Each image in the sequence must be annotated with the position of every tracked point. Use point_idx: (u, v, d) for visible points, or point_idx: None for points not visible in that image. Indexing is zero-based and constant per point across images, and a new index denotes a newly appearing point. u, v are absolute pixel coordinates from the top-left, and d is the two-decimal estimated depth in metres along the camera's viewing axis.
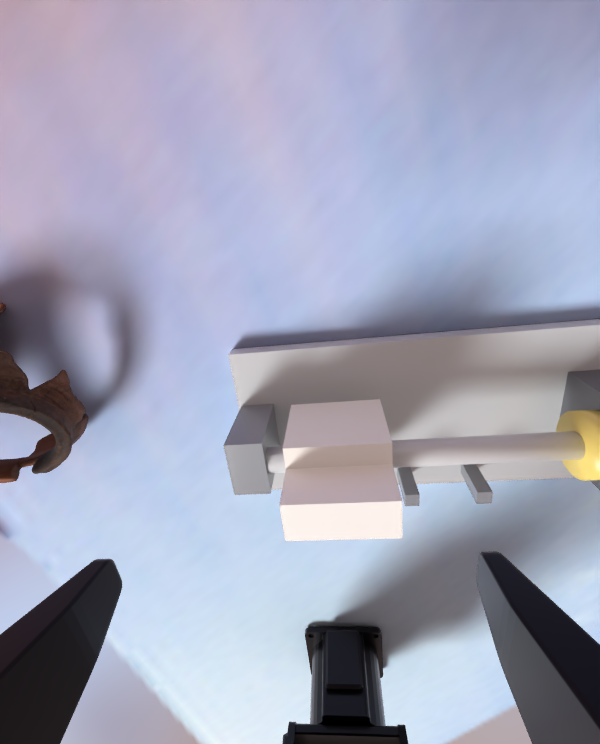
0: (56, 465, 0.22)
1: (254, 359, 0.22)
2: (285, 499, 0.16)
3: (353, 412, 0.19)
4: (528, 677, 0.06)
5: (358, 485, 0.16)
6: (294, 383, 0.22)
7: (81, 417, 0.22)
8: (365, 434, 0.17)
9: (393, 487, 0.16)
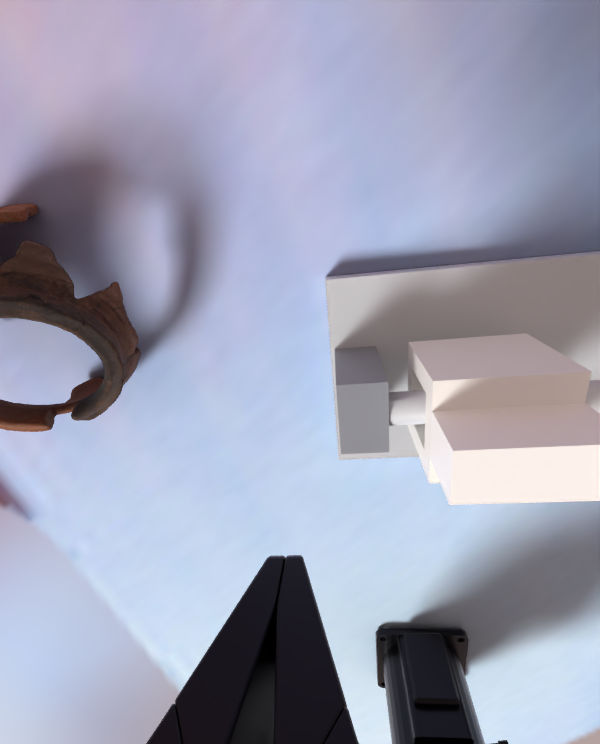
0: (102, 410, 0.17)
1: (358, 286, 0.17)
2: (457, 443, 0.11)
3: (502, 345, 0.15)
4: None
5: (555, 426, 0.11)
6: (406, 318, 0.17)
7: (134, 349, 0.17)
8: (542, 365, 0.13)
9: None
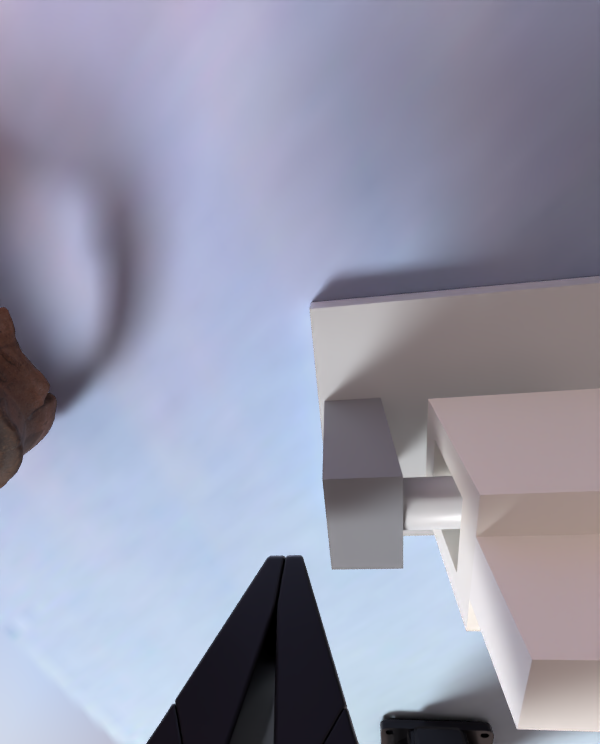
0: None
1: (356, 317, 0.12)
2: (535, 637, 0.06)
3: (573, 413, 0.10)
4: None
5: None
6: (423, 361, 0.12)
7: (43, 399, 0.12)
8: None
9: None
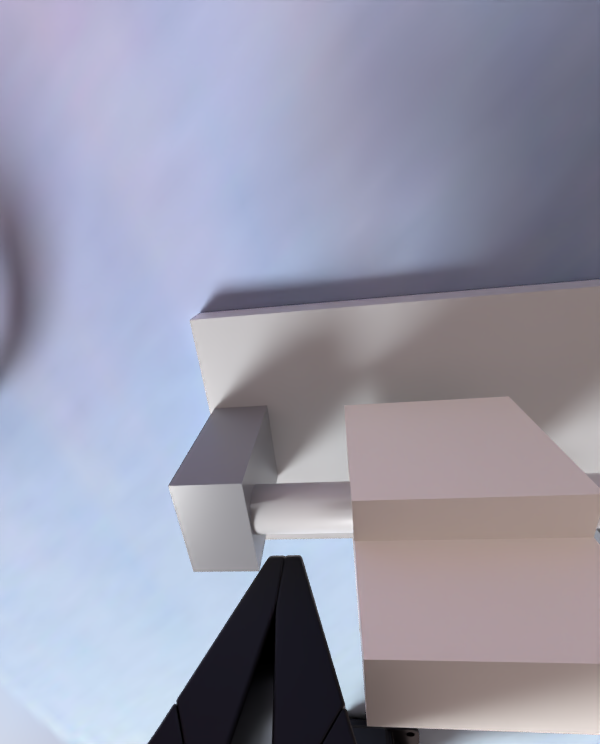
0: None
1: (234, 328, 0.12)
2: (374, 637, 0.06)
3: (472, 421, 0.10)
4: None
5: (545, 599, 0.07)
6: (303, 371, 0.13)
7: None
8: (526, 471, 0.08)
9: None
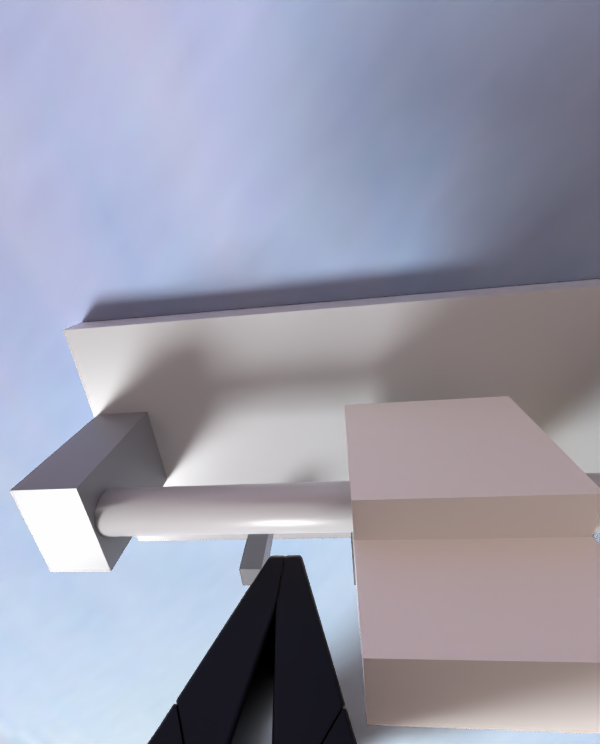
0: None
1: (106, 338, 0.13)
2: (373, 636, 0.06)
3: (472, 420, 0.10)
4: None
5: (544, 598, 0.07)
6: (176, 379, 0.13)
7: None
8: (526, 471, 0.08)
9: None
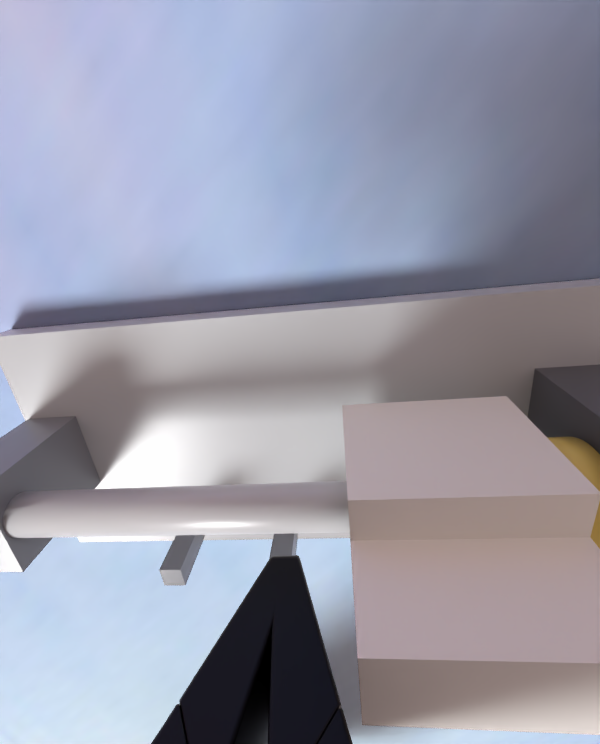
0: None
1: (29, 345, 0.13)
2: (368, 637, 0.06)
3: (469, 420, 0.10)
4: None
5: (540, 599, 0.07)
6: (100, 384, 0.14)
7: None
8: (523, 471, 0.08)
9: None
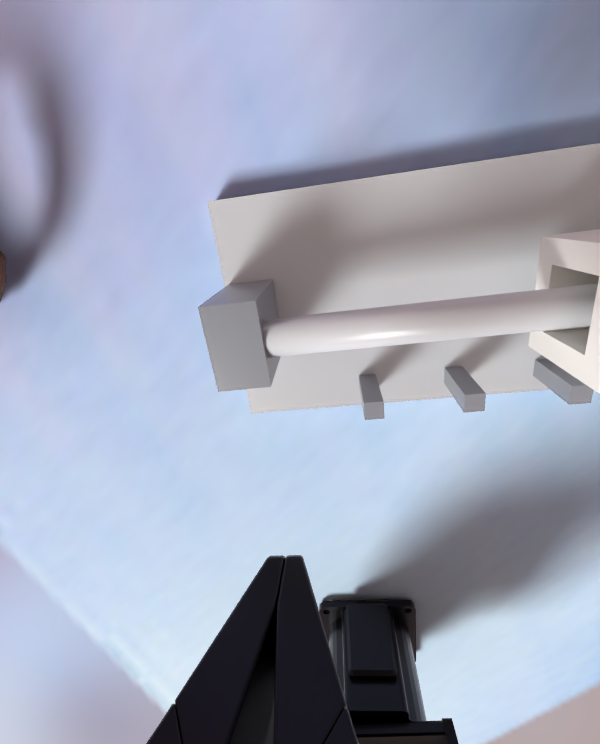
0: None
1: (244, 207, 0.15)
2: None
3: None
4: None
5: None
6: (302, 244, 0.15)
7: None
8: None
9: None
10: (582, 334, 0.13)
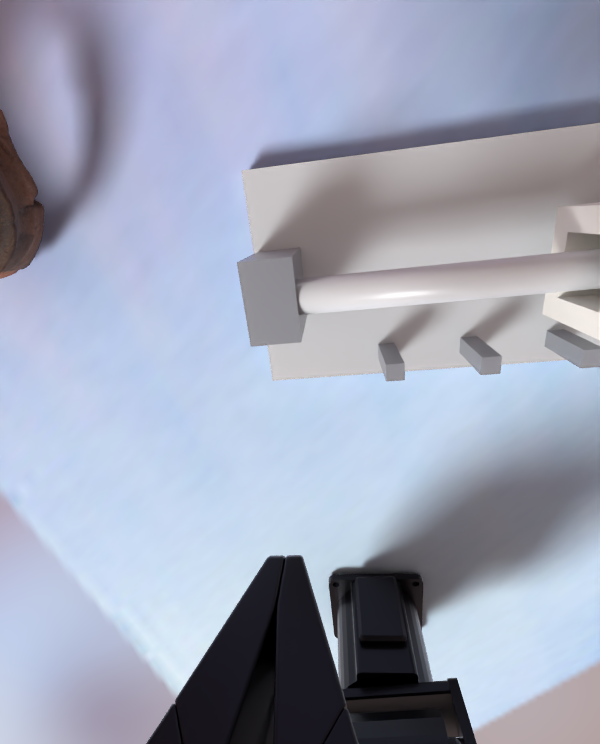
0: None
1: (276, 177, 0.16)
2: None
3: None
4: None
5: None
6: (329, 214, 0.16)
7: (32, 199, 0.16)
8: None
9: None
10: (595, 298, 0.14)
